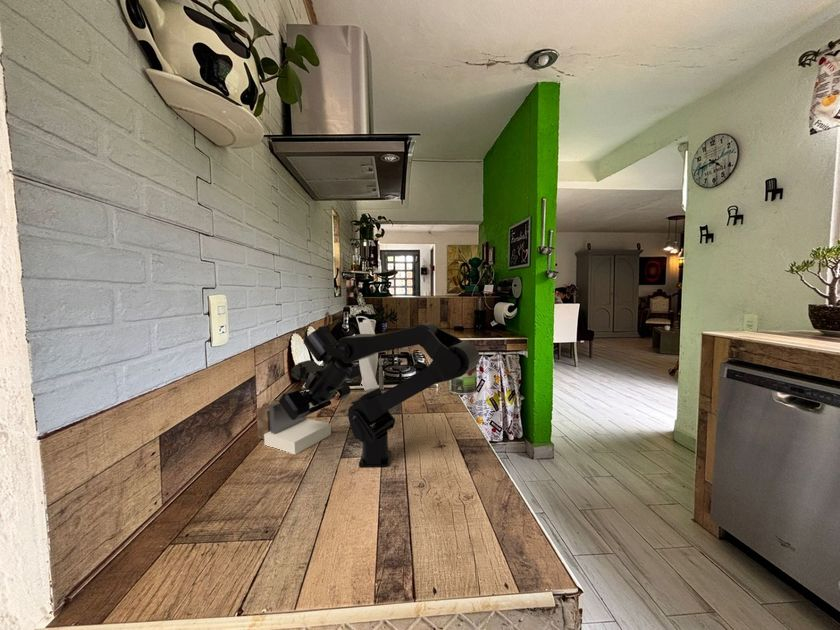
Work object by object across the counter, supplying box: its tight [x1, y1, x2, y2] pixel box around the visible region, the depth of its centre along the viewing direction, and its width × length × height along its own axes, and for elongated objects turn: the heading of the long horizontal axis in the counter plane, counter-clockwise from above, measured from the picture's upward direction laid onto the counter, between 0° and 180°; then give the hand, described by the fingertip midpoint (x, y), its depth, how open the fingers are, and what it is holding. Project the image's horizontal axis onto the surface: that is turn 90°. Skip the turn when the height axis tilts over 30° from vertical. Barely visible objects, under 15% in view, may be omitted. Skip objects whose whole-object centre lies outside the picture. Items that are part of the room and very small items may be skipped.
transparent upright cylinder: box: [448, 365, 478, 396], centre depth 126 cm, size 10×10×14 cm
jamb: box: [256, 400, 279, 439], centre depth 92 cm, size 4×8×8 cm, turn 152°
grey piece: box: [268, 401, 307, 434], centre depth 90 cm, size 8×10×7 cm
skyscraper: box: [355, 315, 385, 393], centre depth 131 cm, size 8×8×28 cm
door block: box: [263, 418, 332, 456], centre depth 88 cm, size 10×12×3 cm
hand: (301, 415), depth 87 cm, fingers closed
